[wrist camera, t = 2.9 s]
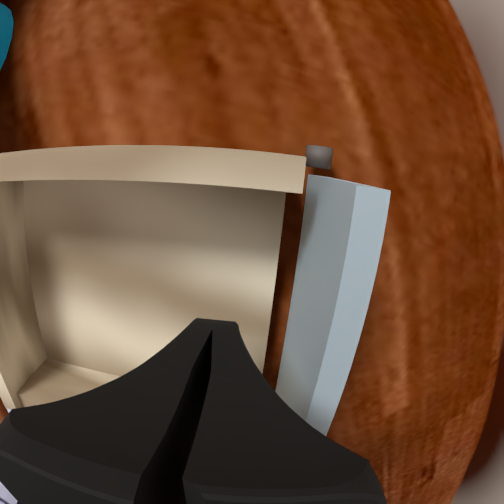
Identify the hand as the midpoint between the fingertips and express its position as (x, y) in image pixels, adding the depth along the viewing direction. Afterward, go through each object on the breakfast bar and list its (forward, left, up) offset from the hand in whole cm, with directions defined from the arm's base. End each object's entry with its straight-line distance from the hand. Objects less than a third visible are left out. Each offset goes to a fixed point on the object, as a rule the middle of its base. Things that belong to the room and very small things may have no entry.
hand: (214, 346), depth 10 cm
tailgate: (0, -3, -3) cm, 5 cm away
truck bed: (0, +4, -4) cm, 6 cm away
